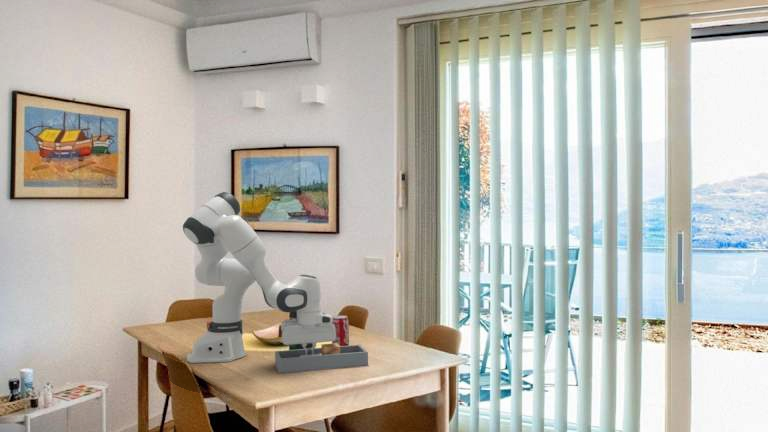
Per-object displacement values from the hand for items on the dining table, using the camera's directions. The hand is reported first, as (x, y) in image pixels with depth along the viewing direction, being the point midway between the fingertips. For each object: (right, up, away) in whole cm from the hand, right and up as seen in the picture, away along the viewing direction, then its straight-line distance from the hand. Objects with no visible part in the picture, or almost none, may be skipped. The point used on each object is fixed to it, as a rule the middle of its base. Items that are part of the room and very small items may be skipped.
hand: (309, 354), depth 219 cm
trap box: (+4, -4, +1) cm, 6 cm away
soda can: (+10, -4, +27) cm, 29 cm away
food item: (-12, -4, +39) cm, 40 cm away
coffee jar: (-6, -4, +19) cm, 20 cm away
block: (+8, -1, +2) cm, 8 cm away
